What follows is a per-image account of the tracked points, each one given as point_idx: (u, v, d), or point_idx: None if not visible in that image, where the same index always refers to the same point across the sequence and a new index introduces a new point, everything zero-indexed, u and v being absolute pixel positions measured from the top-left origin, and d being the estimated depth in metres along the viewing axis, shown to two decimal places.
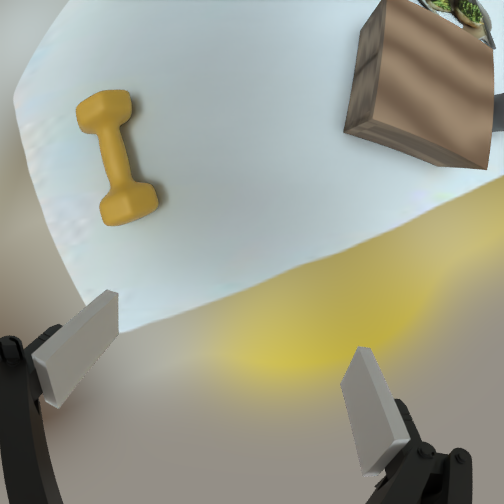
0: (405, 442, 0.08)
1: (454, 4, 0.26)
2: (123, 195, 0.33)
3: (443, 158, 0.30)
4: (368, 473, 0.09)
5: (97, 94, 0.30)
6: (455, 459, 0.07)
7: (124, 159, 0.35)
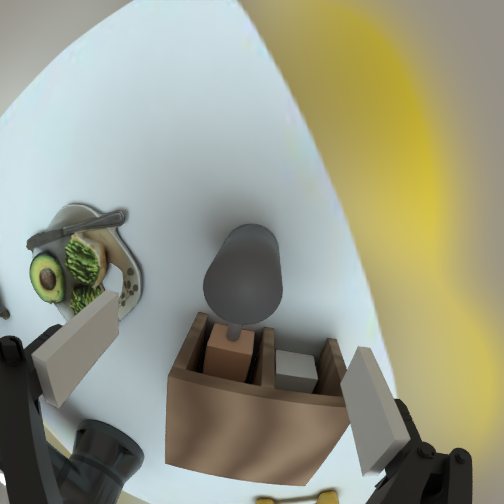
0: (405, 442, 0.08)
1: None
2: None
3: None
4: (368, 473, 0.09)
5: None
6: (455, 459, 0.07)
7: None
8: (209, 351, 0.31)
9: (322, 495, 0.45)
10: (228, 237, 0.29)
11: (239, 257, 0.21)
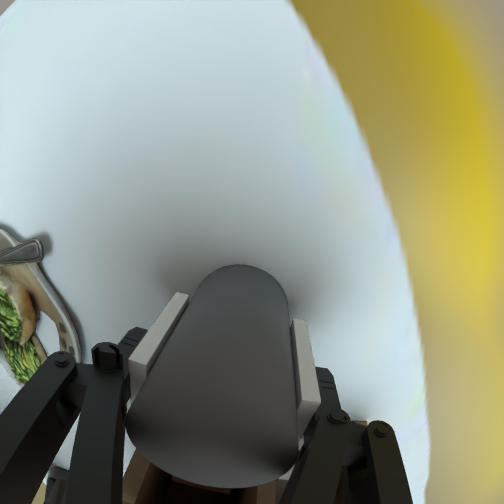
0: (316, 405, 0.10)
1: None
2: None
3: None
4: None
5: None
6: (374, 434, 0.08)
7: None
8: None
9: None
10: (195, 295, 0.16)
11: (194, 402, 0.07)
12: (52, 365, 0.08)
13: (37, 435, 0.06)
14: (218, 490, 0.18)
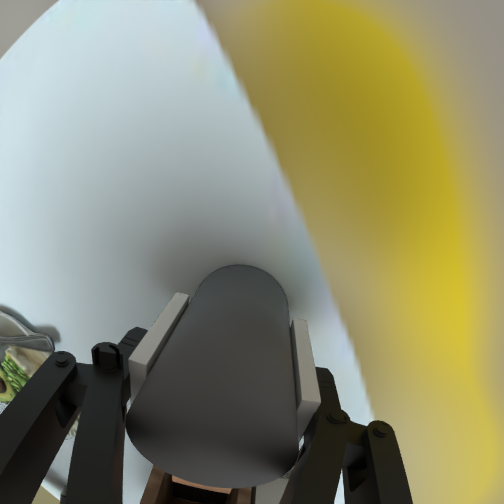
0: (316, 405, 0.10)
1: None
2: None
3: None
4: None
5: None
6: (374, 434, 0.08)
7: None
8: None
9: None
10: (195, 296, 0.16)
11: (194, 402, 0.07)
12: (52, 365, 0.08)
13: (37, 435, 0.06)
14: (218, 490, 0.18)
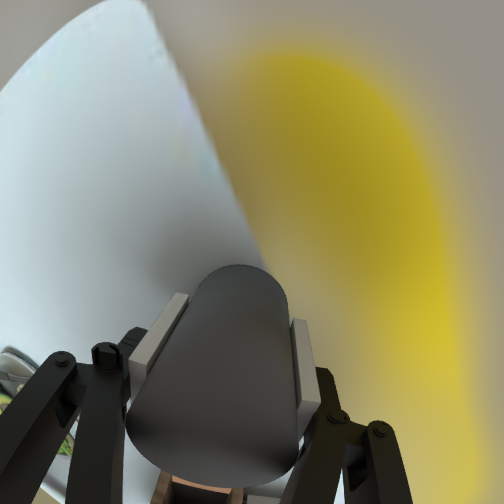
0: (316, 405, 0.10)
1: None
2: None
3: None
4: None
5: None
6: (374, 434, 0.08)
7: None
8: None
9: None
10: (195, 295, 0.16)
11: (193, 402, 0.07)
12: (52, 365, 0.08)
13: (37, 435, 0.06)
14: (218, 490, 0.18)
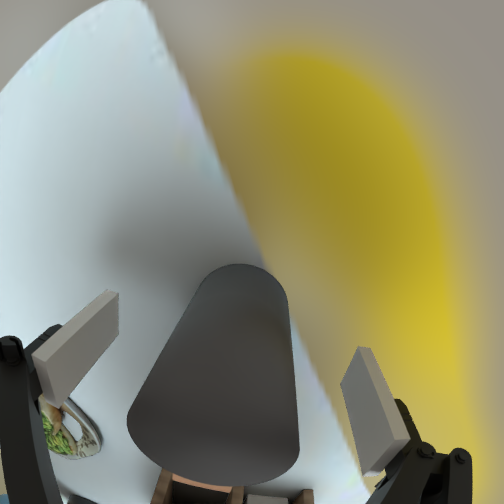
0: (405, 442, 0.08)
1: None
2: None
3: None
4: (368, 473, 0.09)
5: None
6: (455, 459, 0.07)
7: None
8: None
9: None
10: (196, 294, 0.16)
11: (195, 400, 0.07)
12: None
13: None
14: (218, 489, 0.18)
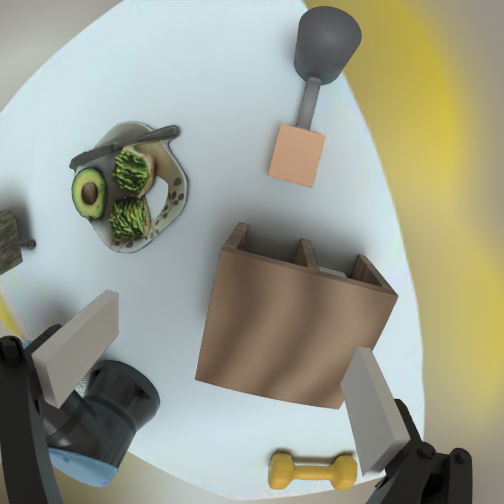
0: (405, 442, 0.08)
1: None
2: (342, 483, 0.44)
3: None
4: (368, 473, 0.09)
5: (274, 482, 0.44)
6: (455, 459, 0.07)
7: (319, 471, 0.47)
8: (283, 130, 0.30)
9: (342, 457, 0.49)
10: None
11: (327, 9, 0.20)
12: None
13: None
14: (304, 181, 0.31)
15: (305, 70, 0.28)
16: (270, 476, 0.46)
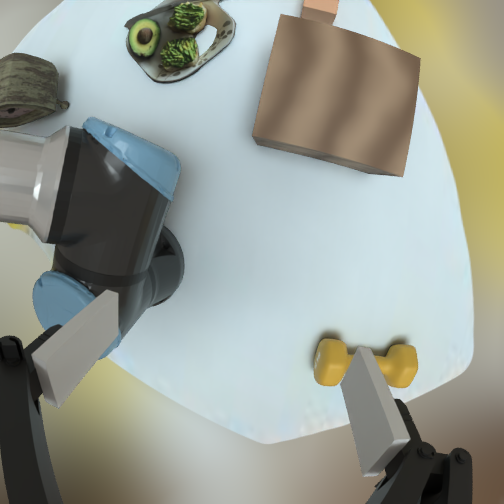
0: (405, 442, 0.08)
1: (180, 32, 0.36)
2: (404, 370, 0.42)
3: None
4: (368, 473, 0.09)
5: (328, 367, 0.42)
6: (455, 459, 0.07)
7: None
8: None
9: None
10: None
11: None
12: None
13: None
14: (330, 10, 0.30)
15: None
16: (321, 363, 0.44)
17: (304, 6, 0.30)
